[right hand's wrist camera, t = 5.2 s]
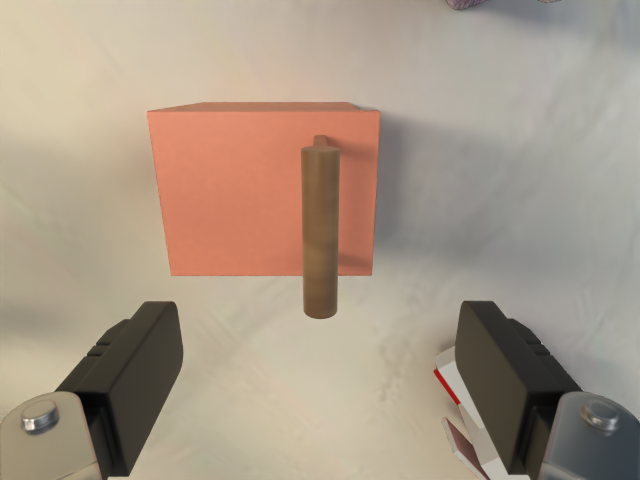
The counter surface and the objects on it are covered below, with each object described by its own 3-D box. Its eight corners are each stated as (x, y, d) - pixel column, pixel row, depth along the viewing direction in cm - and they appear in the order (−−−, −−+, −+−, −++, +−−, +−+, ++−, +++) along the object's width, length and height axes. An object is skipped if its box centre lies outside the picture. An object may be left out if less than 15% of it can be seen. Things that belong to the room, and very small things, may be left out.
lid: (378, 110, 23) (405, 122, 16) (370, 269, 27) (389, 339, 19) (153, 110, 23) (75, 122, 16) (176, 269, 27) (121, 339, 19)
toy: (554, 347, 30) (718, 606, 35) (495, 283, 43) (620, 479, 48) (416, 418, 33) (586, 650, 38) (399, 338, 46) (527, 518, 51)
